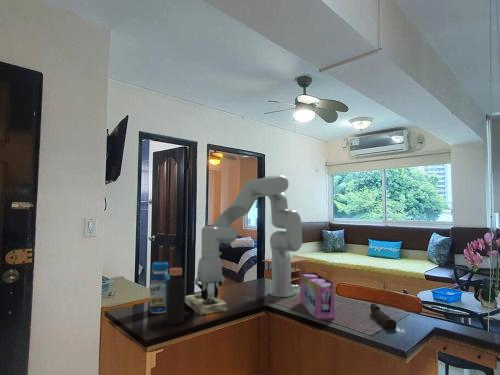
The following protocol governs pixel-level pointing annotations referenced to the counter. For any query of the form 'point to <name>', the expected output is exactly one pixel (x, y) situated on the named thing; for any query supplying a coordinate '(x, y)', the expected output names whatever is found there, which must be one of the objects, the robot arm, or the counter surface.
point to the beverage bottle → (158, 287)
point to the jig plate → (200, 307)
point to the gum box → (317, 295)
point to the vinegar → (175, 297)
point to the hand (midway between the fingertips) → (209, 297)
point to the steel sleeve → (210, 293)
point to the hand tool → (383, 317)
